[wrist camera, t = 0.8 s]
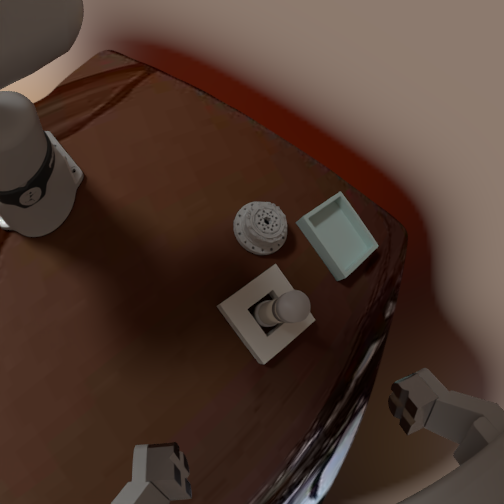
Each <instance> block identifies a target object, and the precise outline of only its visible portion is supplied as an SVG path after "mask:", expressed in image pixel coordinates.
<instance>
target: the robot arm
mask: <svg viewBox="0 0 504 504" xmlns="http://www.w3.org/2000/svg"><path fill="white" fill-rule="evenodd" d="M83 10H84V9H83V1H82V0H0V89H2V88H4V87H6V86H8V85H10V84H12V83H14V82H16V81H18V80H20V79H22V78H24V77H26V76H28V75H30V74H32V73H34V72H35V71H37V70H39V69H40V68H42V67H43V66H45V65H47V64H48V63H50V62H52V61H53V60H55V59H56V58H58V57H60V56H61V55H63V54H65V53H66V52H68V51H69V50H70V48H71V47H72V45H73V44H74V42H75V40H76V38H77V36H78V34H79V31H80V29H81V25H82V21H83V12H84V11H83ZM73 171H75V172H74V173H72V172H73ZM83 177H84V175H83V172H82V171H81V169H80V168H79V167H78V166H77V164H76V163H75V162H74V161H73V160H72V158H71V157H70V156H69V155H68V154H67V152H66V151H65V150H64V149H63V147H62V146H61V145H60V144H59V142H58V141H57V140H56V139H55V137H54V136H53V135H52V134H51V132H49V131H43V129H42V126H41V123H40V120H39V117H38V115H37V112H36V109H35V106H34V104H33V103H32V102H31V101H30V100H29V99H28V98H27V97H25V96H24V95H22V94H20V93H17V92H12V91H0V227H1V228H2V229H4V230H15V231H17V232H19V233H20V234H22V235H25V236H28V237H39V236H43V235H46V234H48V233H50V232H52V231H53V230H55V229H56V228H57V227H59V226H60V225H61V224H62V223H63V222H64V220H65V219H66V218H67V216H68V215H69V213H70V211H71V209H72V207H73V204H74V200H75V194H76V190H77V188H78V186H79V185H80V183H81V182H82V180H83ZM391 390H392V391H393V392H392V393H391V395H390V396H389V400H388V404H389V408H390V411H391V413H392V414H393V416H394V417H396V418H399V419H400V426H401V427H402V428H403V430H404V431H405V433H406V434H407V435H409V434H411V433H413V432H415V431H417V430H419V429H421V428H423V427H425V428H426V429H428V430H430V431H432V432H434V433H436V434H438V435H441V436H443V437H445V438H447V439H449V440H451V441H454V442H456V443H458V444H460V445H459V446H458V448H457V449H456V451H455V452H454V455H453V456H454V458H455V459H456V460H457V462H458V463H459V465H460V466H459V467H457V468H456V469H455V470H453V471H452V472H450V473H449V474H447V475H446V476H444V477H442V478H441V479H439V480H438V481H436V482H434V483H433V484H431V485H429V486H428V487H426V488H424V489H423V490H421V491H419V492H417V493H416V494H414V495H412V496H410V497H408V498H406V499H404V500H403V501H401V502H399V503H397V504H504V411H503V409H502V408H501V407H500V406H499V405H498V404H497V403H493V402H490V401H486V400H483V399H479V398H476V397H472V396H469V395H465V394H462V393H458V392H455V391H450V392H449V391H448V390H447V389H446V388H445V387H444V386H443V385H442V384H441V383H440V382H439V380H438V379H437V378H436V377H435V376H434V375H433V374H432V373H431V372H430V371H429V370H428V369H426V368H423V369H421V370H419V371H417V372H415V373H412V374H410V375H408V376H406V377H404V378H402V379H400V380H398V381H396V382H394V383H393V384H392V387H391ZM188 476H189V466H188V462H187V459H186V457H185V455H184V453H183V452H180V451H179V446H178V444H177V443H176V442H172V443H162V444H146V445H136V446H135V448H134V456H133V470H132V482H128V483H127V484H126V486H125V487H124V488H123V489H122V491H121V492H120V493H119V494H118V496H117V497H116V498H115V499H114V500H113V502H112V503H111V504H169V503H170V500H181V499H191V498H192V497H191V485H190V483H189V482H188V480H187V479H186V478H187V477H188Z"/></svg>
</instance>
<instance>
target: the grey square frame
mask: <svg viewBox="0 0 504 504" xmlns="http://www.w3.org/2000/svg"><path fill="white" fill-rule="evenodd" d="M292 290H294V289H293V287H292V286H291V285H290V283H289V282H288V280H287V279H286V277H285V276H284V275H283V273H282V272H281V270H280V269H279V268H278V266H277V265H276V264H275V265H273V266H271V267H270V268H269V269H267V270H266V271H264V272H263V273H262V274H260V275H259V276H258V277H256V278H255V279H253V280H252V281H251V282H249V283H248V284H247V285H245V286H244V287H242V288H241V289H240V290H238V291H237V292H235V293H234V294H233V295H231V296H230V297H229V298H227V299H226V300H224V301H223V302H222V303H220V304H219V305H217V308H218V309H219V310H220V312H221V313H222V315H223V316H224V317H225V319H226V320H227V321H228V323H229V324H230V326H231V327H232V328H233V330H234V331H235V332H236V334H237V335H238V336H239V338H240V339H241V340H242V342H243V343H244V344H245V346H246V347H247V348H248V350H249V351H250V352H251V354H252V355H253V356H254V358H255V359H256V360H257V362H258V363H259V364H265V363H267V362H268V361H269V360H270V359H271V358H273V357H274V356H275V355H276V354H277V353H279V352H280V351H281V350H282V349H283V348H284V347H286V346H287V345H288V344H289V343H290V342H291V341H292V340H294V339H295V338H296V337H297V336H298V335H299V334H300V333H301V332H303V331H304V330H305V329H306V328H307V327H308V326H309V325H310V324H311V323H313V322H314V321H315V319H314V317H313V316H312V314H311V313H309V315H308V316H307V318H306V319H305V320H303V321H301V322H296V323H279V324H278V325H277V326H276V327H274V328H273V329H272V330H271V331H269V332H268V333H267V334H265V333H264V331H263V330H262V329H261V327H260V326H259V325H258V323H257V322H256V321H255V319H254V318H253V316H252V315H251V314H250V312H249V311H248V310H247V309H248V308H250V307H251V306H252V305H254V304H255V303H256V302H258V301H259V300H260V299H261V298H263V297H264V296H265V295H267V294H268V293H269V295H270V296H271V298H272V299H273V300H274V299H277V298H279V297H280V296H281V295H282V294H284V293H286V292H289V291H292Z"/></svg>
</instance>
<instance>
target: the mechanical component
mask: <svg viewBox="0 0 504 504" xmlns="http://www.w3.org/2000/svg"><path fill="white" fill-rule="evenodd" d="M285 217H286V216H285V215H284V214H283V212H282V211H281V210H280V208H279V207H277V206H275V204H271V203H270V202H251V203H248V204H247V205H245V206H243V207H242V208H241V209H240V210H239V212H238V213H237V215H236V217H235V220H234V234H235V236H236V239H237V240H238V242H239V243H240V245H241V246H242V247H244V248H245V249H246V250H247V251H249V252H251V253H253V254H257V255H268V254H271V253H274V252H275V251H277V250H278V249H279V248H281V247H282V245H283V244H284V242H285V240H286V237H287V222H286V218H285ZM264 221H265V222H266V223H267V224H266V223H265V222H264Z"/></svg>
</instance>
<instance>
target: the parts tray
mask: <svg viewBox="0 0 504 504" xmlns="http://www.w3.org/2000/svg"><path fill="white" fill-rule="evenodd" d="M296 224H297V225H298V226H299V228H300V229H301V231H302V232H303V233H304V235H305V236H306V238H307V239H308V240H309V242H310V243H311V245H312V246H313V247H314V249H315V250H316V252H317V253H318V254H319V256H320V257H321V259H322V260H323V262H324V263H325V265H326V266H327V267H328V269H329V270H330V272H331V273H332V275H333V276H334V278H335V279H336V281H339V280H342V279H345V278H346V277H347V276H349V275H350V274H351V273H352V272H353V271H354V270H355V269H356V268H357V267H358V266H359V265H360V264H361V263H362V262H363V261H364V260H365V259H366V258H367V257H368V256H369V255H370V254H371V253H372V252H373V251H374V250H375V249H376V248H377V247H378V244H377V243H376V241H375V240H374V238H373V237H372V235H371V234H370V232H369V231H368V229H367V228H366V226H365V225H364V223H363V222H362V221H361V219H360V218H359V216H358V215H357V213H356V212H355V211H354V209H353V208H352V206H351V205H350V204H349V202H348V201H347V199H346V198H345V197H344V195H343V194H342V193H341V191H340V192H339V193H337V194H336V195H334V196H333V197H331V198H330V199H328V200H327V201H325V202H324V203H322V204H321V205H319V206H318V207H316V208H315V209H313V210H312V211H311V212H309V213H308V214H306V215H305V216H303V217H302V218H301V219H299V220H298V221H297V222H296Z"/></svg>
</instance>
